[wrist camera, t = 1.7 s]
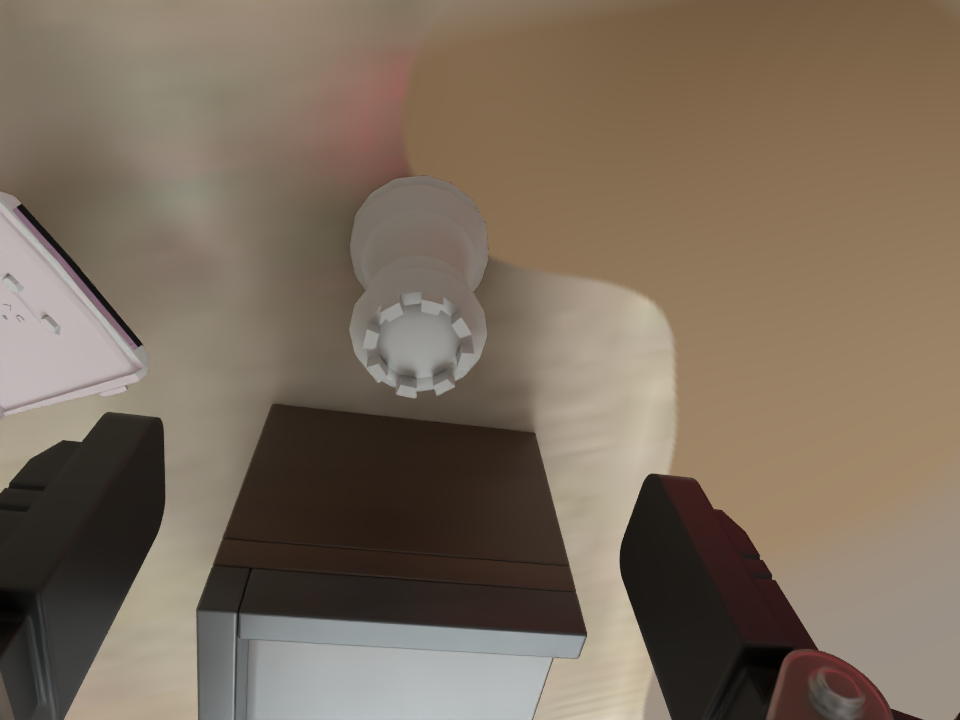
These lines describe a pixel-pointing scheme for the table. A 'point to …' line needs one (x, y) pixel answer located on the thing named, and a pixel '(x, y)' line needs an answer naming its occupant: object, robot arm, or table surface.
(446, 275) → the rook chess piece
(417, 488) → the tray
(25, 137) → the table surface
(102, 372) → the mobile phone
